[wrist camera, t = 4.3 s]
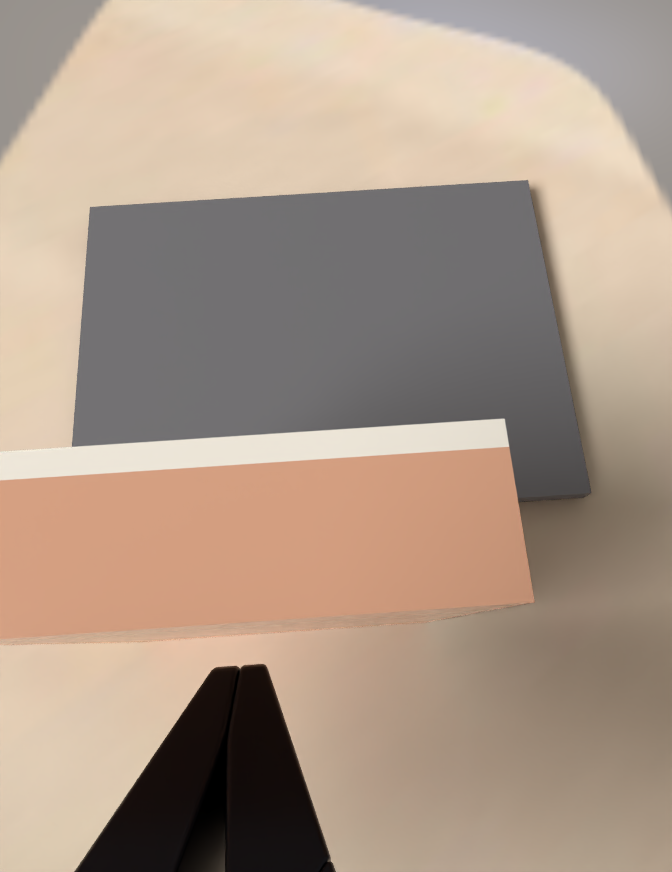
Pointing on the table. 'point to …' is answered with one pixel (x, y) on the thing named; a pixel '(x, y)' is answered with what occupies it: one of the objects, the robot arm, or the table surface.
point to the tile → (259, 534)
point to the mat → (328, 322)
